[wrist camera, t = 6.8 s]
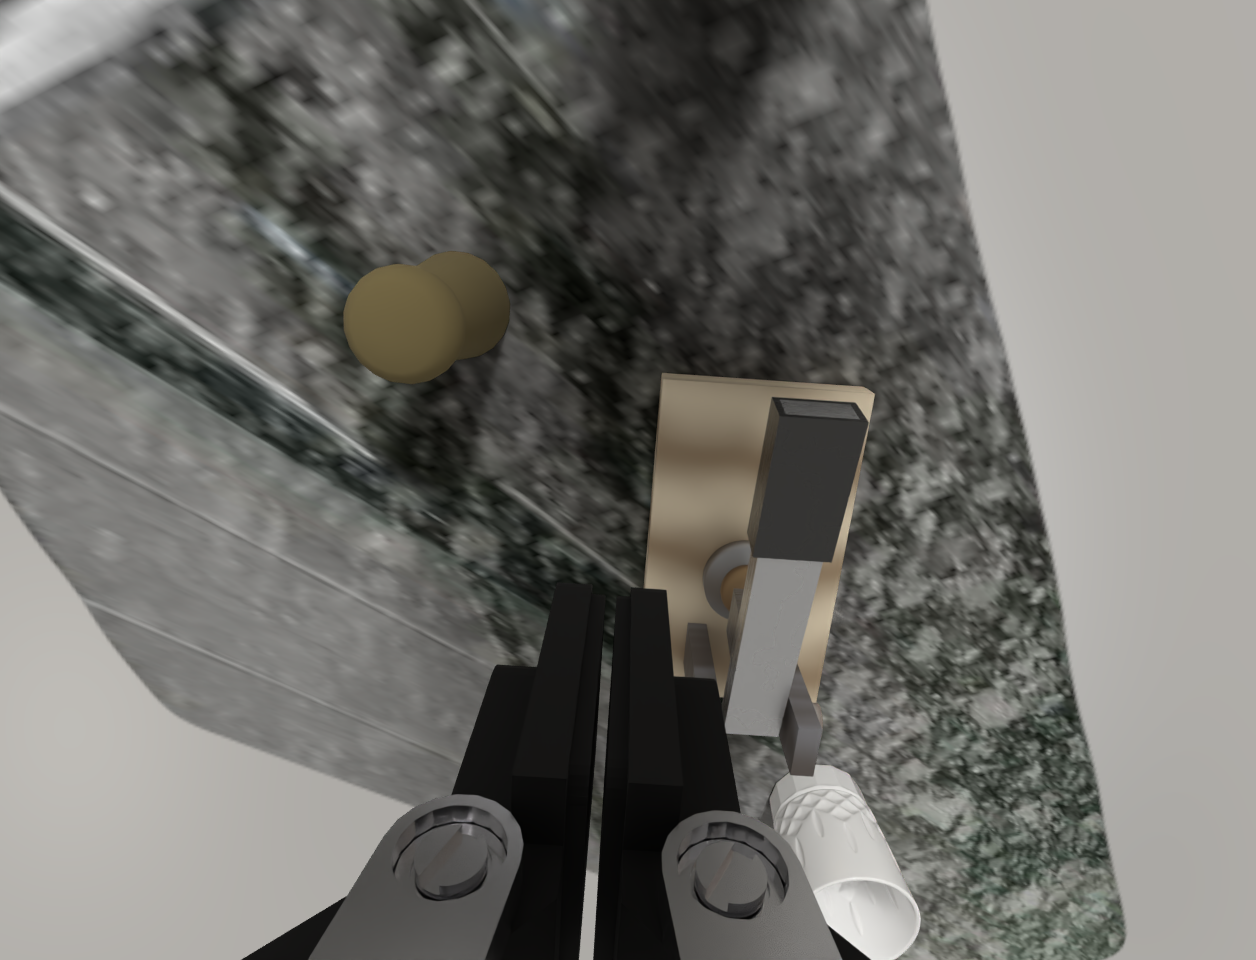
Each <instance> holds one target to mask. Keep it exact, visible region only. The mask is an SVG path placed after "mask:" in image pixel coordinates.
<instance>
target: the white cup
mask: <svg viewBox="0 0 1256 960" xmlns="http://www.w3.org/2000/svg"><path fill="white" fill-rule="evenodd" d="M769 800H770V807H771V815H772V820H773V826H774V830H775V831H776V832H777V833H778V834H779V835H780V836H781V837H782V838H783V839H784V840H785V841H787V842H788V843H789V845H790V846H791V848H792V849H793V851H794V853H795V854H796V856H797V858H798V859H799V861H800V863H801V865H802V867H803V870H804V872H805V874H806V877H807V879H808V881H809V884H810V886H811V888H812V891H813V893H814V895H815V898H816V900H817V902H818V905H819V907H820V909H821V911H822V914H823V916H824V918H825V921H826V923H827V925H829V926H830V927H831V928H832V929H834V930H835V931H836V932H837V933H839V934H840V935H841V936H842V937H844V938H845V939H846V940H847V941H849V942H850V943H851V944H852V945H853V946H855V947H856V948H857V949H858V950H860V951H861V952H862V953H863V954H865V955H866V956H867V957H868V958H870V959H871V960H894V959H896V958H898V957H899V956H900V955H902V954H903V953H904V952H905V951H906V950H907V949H908V948H909V947H910V946H911V945H912V943H913V942H914V940H915V939H916V937H917V934H918V932H919V928H920V912H919V909H918V906H917V904H916V902H915V900H914V898H913V896H912V894H911V891H910V889H909V887H908V885H907V883H906V881H905V879H904V877H903V875H902V873H901V870H900V868H899V866H898V864H897V862H896V860H895V858H894V855H893V853H892V851H891V849H890V847H889V845H888V843H887V841H886V839H885V837H884V835H883V833H882V831H881V829H880V828H879V825H878V823H877V821H876V819H875V817H874V815H873V813H872V812H871V810H870V808H869V807H868V805H867V803H866V801H865V799H864V797H863V794H862V792H861V790H860V788H859V787H858V785H857V784H856V783H855V781H854V780H853V779H852V777H851V776H850V775H849V774H848V773H846V772H844V771H842V770H840V769H838V768H835V767H833V766H830V765H815V770H814V775H813V777H810V776H794V775H790V772H789V773H788V774H787V775H785V776H784V777H783V778H782V779H781V780H779V781H778V782H777V783H776V785H775V787H774V790H773V792H772V794H771V796H770V799H769Z"/></svg>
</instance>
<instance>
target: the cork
mask: <svg viewBox="0 0 1256 960" xmlns="http://www.w3.org/2000/svg"><path fill="white" fill-rule="evenodd" d="M343 313H344V332H345V335H346V338H347V341H348V343H349V346H350V348H351V350H352V351H353V353H354V354H355V356H356V357H357V358H358V360H359V361H360V363H361V364H363V365H364V366H365V367H366V368H367V369H369V370H370V371H371V372H372V373H373V374H375V375H377V376H379V377H382V378H384V379H386V380H389V381H391V382H398V383H407V384H416V383H421V382H426V381H430V380H432V379H434V378H435V377H437V376H439V375H440V374H442V373H444V372H445V371H447V370H448V369H449V368H450V366H451V365H452V364H453V363H454V362H455V360H461V359H467V358H472V357H477V356H480V355H482V354H484V353H485V352H487V351H489V350H491V349H492V348H494V346H495V345H496V344H497V343H498V342H499V340H500V339H501V338H502V337H503V335H504V333H505V330H506V328H507V325H508V323H509V315H510V302H509V298H508V294H507V290H506V287H505V285H504V283H503V282H502V280H501V278H500V277H499V275H498V273H497V272H496V271H495V270H494V269H493V268H492V267H490V266H489V265H488V264H487V263H486V262H485V261H484V260H482V259H480V258H478V257H475V256H473V255H471V254H469V253H464V252H456V251H448V252H444V253H439V254H435V255H433V256H432V257H430V258H428V259H427V260H425V261H424V262H422V263H420V264H419V265H417V266H411V265H403V264H394V265H389V266H385V267H380V268H376V269H375V270H373V271H372V272H370V273H369V274H367V275H366V276H364V277H362V278H361V279H360V281H359V282H358V283H357V284H356V286H355V287H354V288H353V290H352V291H351V292H350V294H349V295H348V299H347V302H346V305H345V308H344V312H343Z"/></svg>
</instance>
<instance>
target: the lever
mask: <svg viewBox="0 0 1256 960" xmlns="http://www.w3.org/2000/svg"><path fill="white" fill-rule="evenodd" d="M868 424H869V422H868V420H867V419H866V417H865V416H864V414H863V413H862V411H861V410H860V408H859V407H858V405H857V404H856V403H855V402H841V401H826V400H812V399H797V398H783V397H772V398H771V404H770V409H769V415H768V420H767V426H766V431H765V436H764V442H763V447H762V453H761V458H760V464H759V469H758V475H757V480H756V486H755V491H754V497H753V502H752V508H751V513H750V518H749V524H748V529H747V535H748V539H749V544H750V548H751V554H750V559H749V564H748V570H747V575H746V580H745V585H744V589H738V588H734V590H733V596H732V601H731V607H730V612H729V618H728V623H727V629H726V632H727V639H728V645H729V652H730V665H729V670H728V675H727V680H726V686H725V691H724V696H723V701H722V712H723V718H724V724H725V729H726V733H728V734H743V735H759V736H774V737H778V735H779V731H780V728H781V724H782V720H783V716H784V712H785V708H786V704H787V700H788V697H789V693H790V689H791V685H792V681H793V677H794V673H795V669H796V665H797V662H798V658H799V654H800V650H801V646H802V642H803V638H804V634H805V630H806V627H807V623H808V619H809V615H810V611H811V607H812V603H813V599H814V596H815V592H816V588H817V584H818V580H819V576H820V572H821V568H822V564H823V562H830V563H832V560H833V556H834V552H835V549H836V545H837V541H838V537H839V533H840V530H841V526H842V522H843V518H844V515H845V511H846V507H847V503H848V500H849V496H850V492H851V488H852V485H853V481H854V477H855V473H856V469H857V466H858V462H859V458H860V454H861V451H862V447H863V443H864V439H865V436H866V432H867V428H868Z"/></svg>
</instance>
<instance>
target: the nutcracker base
mask: <svg viewBox="0 0 1256 960" xmlns="http://www.w3.org/2000/svg"><path fill="white" fill-rule="evenodd" d="M874 396H875V394H874V393H873V392H871V391H869V390H868V389H866V388H865V387H859V386H845V385H830V384H816V383H802V382H787V381H773V380H758V379H744V378H729V377H715V376H701V375H686V374H672V373H662V376H661V387H660V399H659V411H658V423H657V435H656V447H655V459H654V471H653V483H652V494H651V506H650V518H649V530H648V542H647V554H646V566H645V578H644V588H648V589H663V590H667V600H668V612H669V624H670V636H671V648H672V660H673V671H674V676H680V677H695V678H710V679H715V680H716V682H717V686H718V691H719V696H720V697H723V696H724V691H725V686H726V680H727V675H728V670H729V665H730V652H729V645H728V639H727V632H726V629H727V623H728V618H729V612H730V607H731V601H732V596H733V590H734V588H738V589H744V585H745V580H746V575H747V570H748V564H749V559H750V554H751V548H750V544H749V539H748V535H747V529H748V524H749V518H750V513H751V508H752V502H753V497H754V491H755V486H756V480H757V475H758V469H759V464H760V458H761V453H762V447H763V442H764V436H765V431H766V426H767V420H768V415H769V409H770V404H771V398H772V397H783V398H797V399H812V400H826V401H841V402H855V403H856V404H857V405H858V407H859V408H860V410H861V411H862V413H863V414H864V416H865V417H866V419H867V420H868V422H870V417H871V412H872V407H873V401H874ZM868 427H869V424H868ZM867 433H868V428H867V432H866V436H865V439H864V443H863V447H862V451H861V454H860V458H859V462H858V466H857V469H856V473H855V477H854V481H853V485H852V488H851V492H850V496H849V500H848V503H847V507H846V511H845V515H844V518H843V522H842V526H841V530H840V533H839V537H838V541H837V545H836V549H835V552H834V556H833V560H832V563H830V562H823V564H822V568H821V572H820V576H819V580H818V584H817V588H816V592H815V596H814V599H813V603H812V607H811V611H810V615H809V619H808V623H807V627H806V630H805V634H804V638H803V642H802V646H801V650H800V654H799V658H798V662H797V665H796V669H795V673H794V677H793V681H792V685H791V689H790V693H789V697H788V700H787V704H786V708H785V712H784V716H783V720H782V724H781V728H780V731H779V737H780V741H781V744H782V748H783V751H784V755H785V758H786V762H787V765H788V769H789V772H790V775H794V776H810V777H813V775H814V770H815V765H816V760H817V755H818V750H819V745H820V740H821V736H822V730H823V718H822V711H821V708H820V705H819V704H818V703H816V700H817V694H818V689H819V684H820V679H821V673H822V668H823V663H824V658H825V652H826V647H827V642H828V637H829V632H830V626H831V621H832V616H833V611H834V605H835V600H836V595H837V590H838V584H839V579H840V574H841V569H842V563H843V558H844V553H845V548H846V543H847V537H848V532H849V527H850V522H851V516H852V511H853V506H854V501H855V495H856V490H857V485H858V480H859V475H860V469H861V464H862V459H863V454H864V448H865V443H866V438H867ZM720 702H721V701H720ZM722 713H723V712H722Z"/></svg>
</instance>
